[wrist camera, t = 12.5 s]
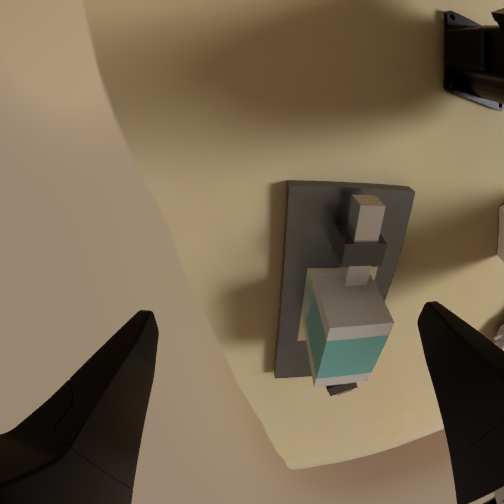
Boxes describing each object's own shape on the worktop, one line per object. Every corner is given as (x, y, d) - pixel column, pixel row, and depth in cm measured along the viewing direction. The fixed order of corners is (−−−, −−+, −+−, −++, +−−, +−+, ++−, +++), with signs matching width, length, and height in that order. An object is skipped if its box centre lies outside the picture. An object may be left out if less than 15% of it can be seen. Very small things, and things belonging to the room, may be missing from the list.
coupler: (351, 332, 25) (367, 380, 21) (304, 335, 25) (314, 386, 21) (369, 272, 22) (394, 322, 17) (314, 274, 22) (329, 328, 17)
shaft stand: (408, 186, 19) (436, 210, 16) (354, 364, 30) (362, 394, 27) (287, 180, 19) (296, 205, 16) (274, 370, 30) (276, 402, 27)
